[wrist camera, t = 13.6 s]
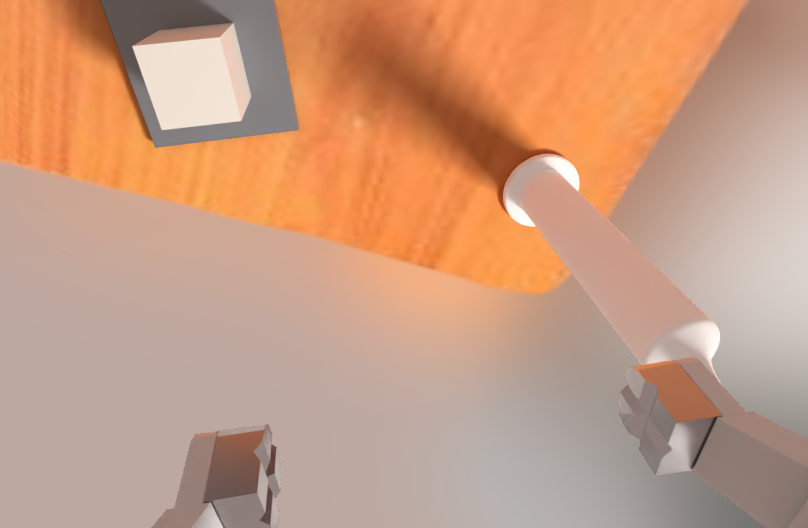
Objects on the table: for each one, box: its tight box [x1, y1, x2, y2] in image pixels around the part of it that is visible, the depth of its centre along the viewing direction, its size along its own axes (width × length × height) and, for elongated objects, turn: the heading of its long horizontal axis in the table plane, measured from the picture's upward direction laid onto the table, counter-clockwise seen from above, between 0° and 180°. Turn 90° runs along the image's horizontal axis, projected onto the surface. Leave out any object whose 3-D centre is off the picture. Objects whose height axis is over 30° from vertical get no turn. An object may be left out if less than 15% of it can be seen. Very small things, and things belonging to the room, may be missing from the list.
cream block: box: [132, 23, 251, 130], centre depth 33 cm, size 5×5×6 cm
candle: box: [503, 154, 721, 384], centre depth 36 cm, size 7×7×25 cm
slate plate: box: [100, 0, 299, 148], centre depth 36 cm, size 11×11×1 cm
